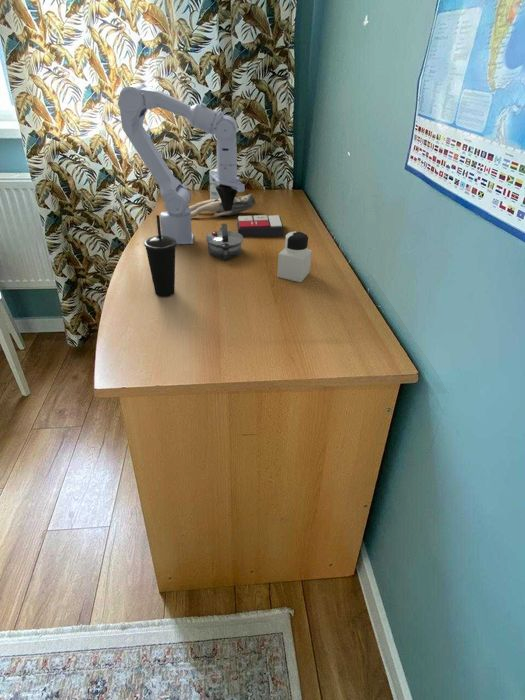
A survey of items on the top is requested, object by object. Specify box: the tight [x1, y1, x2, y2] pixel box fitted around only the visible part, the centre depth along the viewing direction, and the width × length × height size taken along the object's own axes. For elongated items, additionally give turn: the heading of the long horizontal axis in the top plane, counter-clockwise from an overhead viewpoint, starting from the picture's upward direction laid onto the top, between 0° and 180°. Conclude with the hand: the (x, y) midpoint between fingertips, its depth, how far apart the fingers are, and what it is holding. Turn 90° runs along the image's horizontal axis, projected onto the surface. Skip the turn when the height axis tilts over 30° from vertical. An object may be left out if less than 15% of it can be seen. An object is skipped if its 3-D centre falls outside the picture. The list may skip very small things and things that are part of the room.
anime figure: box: [189, 193, 256, 218], centre depth 164 cm, size 10×7×30 cm
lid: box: [205, 223, 244, 249], centre depth 135 cm, size 13×11×3 cm
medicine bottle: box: [277, 231, 313, 283], centre depth 124 cm, size 7×7×12 cm
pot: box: [207, 227, 242, 262], centre depth 140 cm, size 10×18×4 cm, turn 7°
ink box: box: [208, 168, 220, 200], centre depth 174 cm, size 9×5×12 cm, turn 66°
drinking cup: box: [143, 214, 178, 298], centre depth 110 cm, size 8×8×20 cm
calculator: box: [236, 214, 285, 238], centre depth 154 cm, size 11×4×15 cm
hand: (227, 210), depth 138 cm, fingers closed
